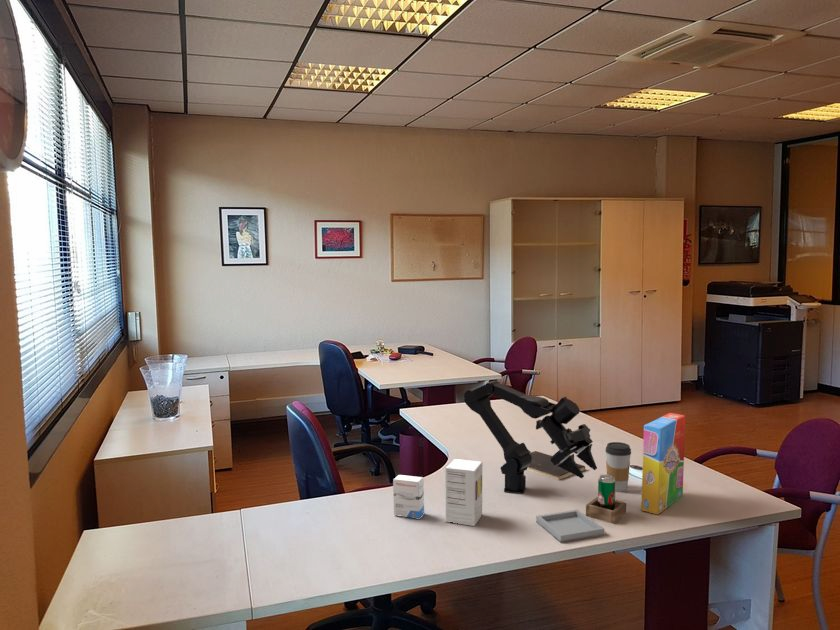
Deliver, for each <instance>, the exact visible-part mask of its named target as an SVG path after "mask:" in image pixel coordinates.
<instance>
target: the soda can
mask: <svg viewBox="0 0 840 630" xmlns="http://www.w3.org/2000/svg"><path fill="white" fill-rule="evenodd" d="M615 483H616V481H615V479H614V477H613V476H611V475H607V474H600V475H599V477H598V479H597V497H598V507H601V508H605V509H609V510H612V511H613V510H614V509H615V500H616V491H615Z"/></svg>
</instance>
